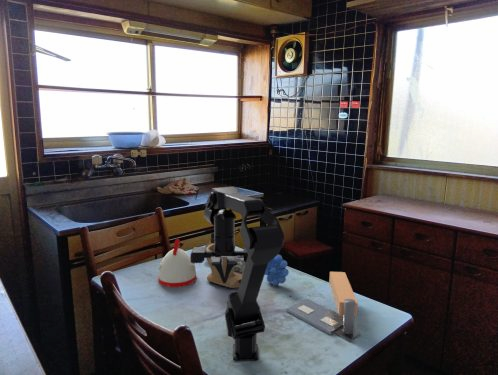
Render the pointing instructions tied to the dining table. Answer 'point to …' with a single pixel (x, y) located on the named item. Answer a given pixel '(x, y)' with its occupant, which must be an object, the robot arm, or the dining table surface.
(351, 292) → the orange wooden beam
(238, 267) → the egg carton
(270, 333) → the dining table surface
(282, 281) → the grapes
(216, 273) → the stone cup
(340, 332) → the grey flat block
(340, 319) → the label plate
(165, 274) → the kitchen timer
